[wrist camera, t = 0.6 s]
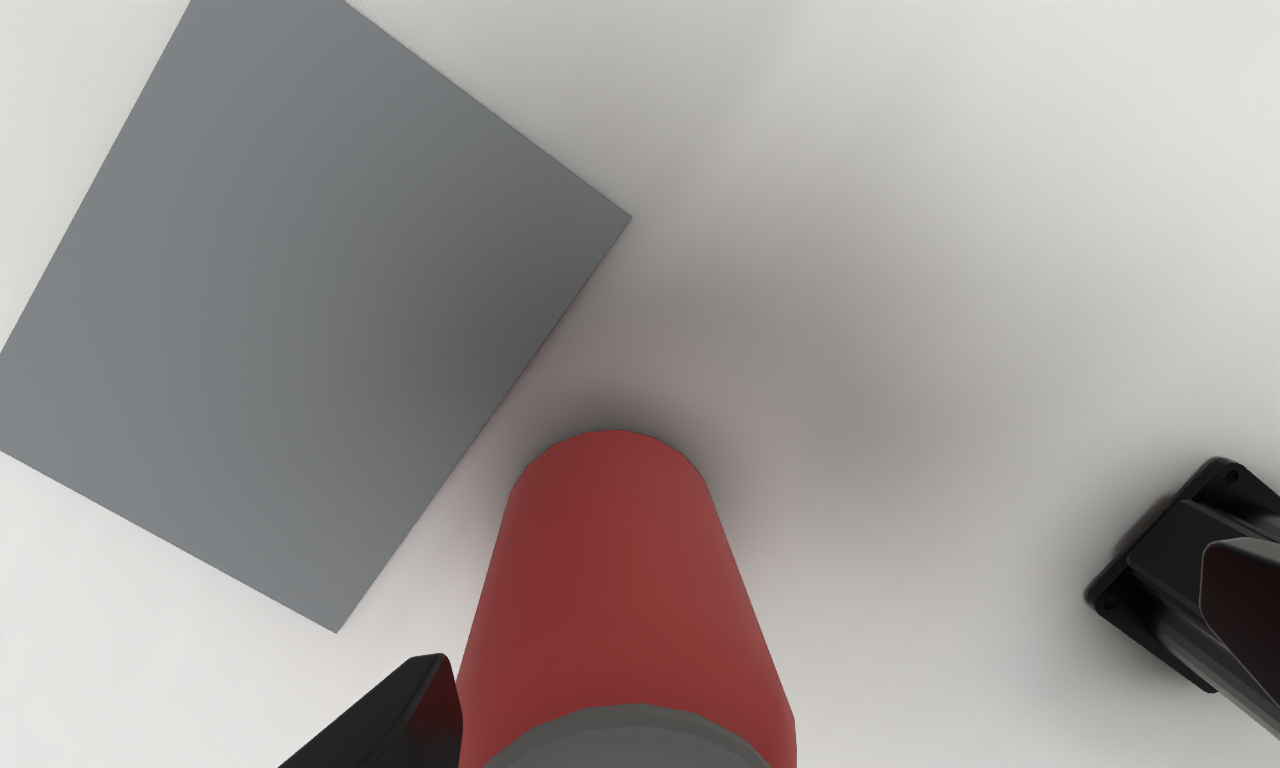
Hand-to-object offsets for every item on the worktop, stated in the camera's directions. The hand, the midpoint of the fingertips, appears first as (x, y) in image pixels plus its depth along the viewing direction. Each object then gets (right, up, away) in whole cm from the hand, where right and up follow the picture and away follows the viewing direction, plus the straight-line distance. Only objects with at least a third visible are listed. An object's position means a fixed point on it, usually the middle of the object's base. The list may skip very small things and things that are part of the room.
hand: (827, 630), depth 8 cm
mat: (-12, +5, +12) cm, 18 cm away
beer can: (-3, -1, +14) cm, 15 cm away
